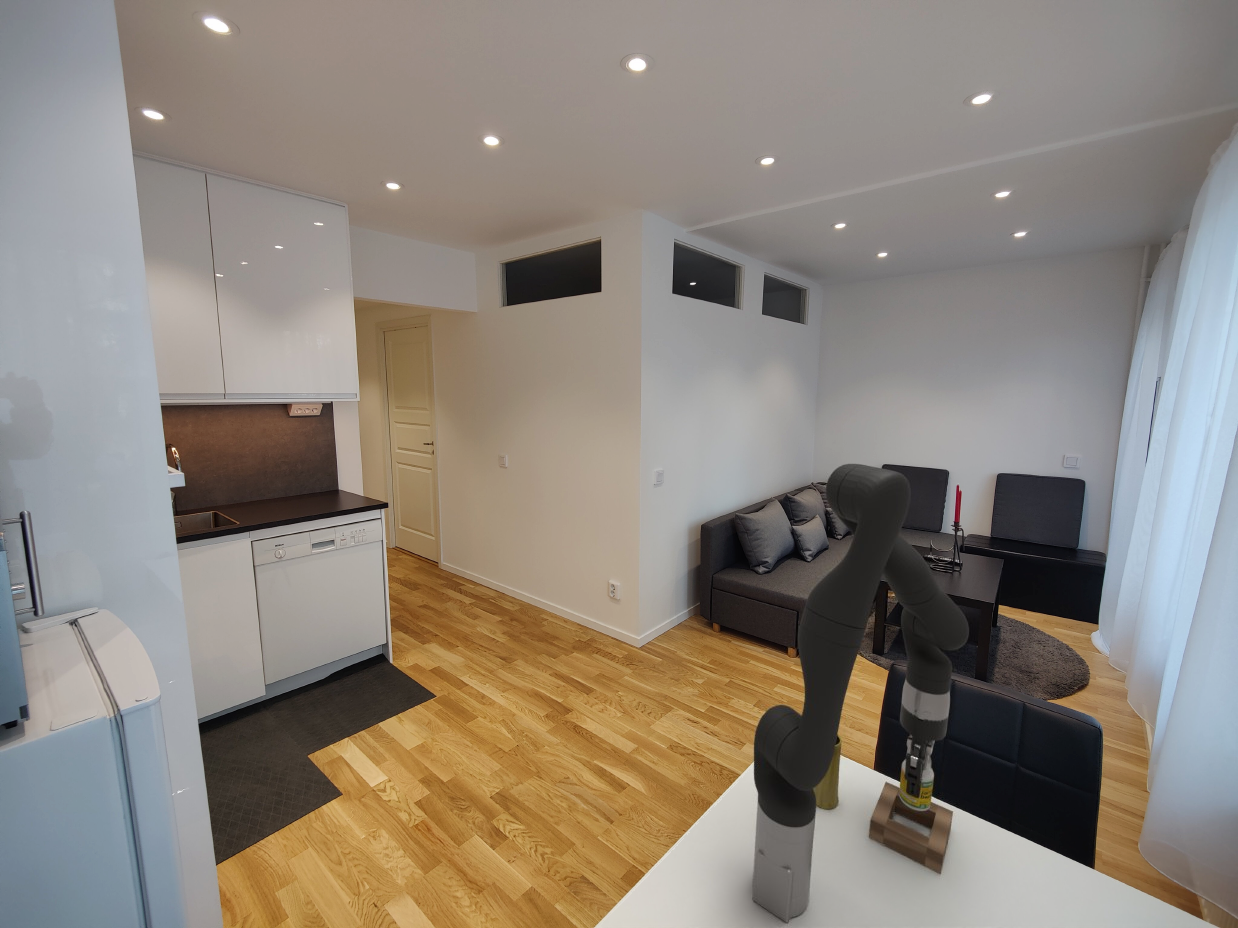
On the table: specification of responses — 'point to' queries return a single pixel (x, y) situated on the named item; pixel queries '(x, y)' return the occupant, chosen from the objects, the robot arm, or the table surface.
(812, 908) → the table surface
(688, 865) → the table surface
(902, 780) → the supplement bottle
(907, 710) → the robot arm
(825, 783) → the vase
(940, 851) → the socket block
